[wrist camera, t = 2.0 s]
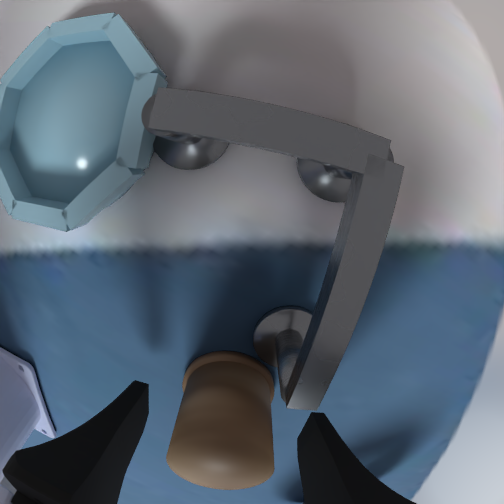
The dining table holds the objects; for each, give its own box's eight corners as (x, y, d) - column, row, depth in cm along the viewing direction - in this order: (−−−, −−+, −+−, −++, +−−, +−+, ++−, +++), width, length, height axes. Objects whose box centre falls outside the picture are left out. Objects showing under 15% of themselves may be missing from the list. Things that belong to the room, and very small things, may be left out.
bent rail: (130, 330, 12) (90, 393, 8) (163, 89, 10) (114, 49, 5) (309, 366, 13) (328, 438, 9) (378, 137, 10) (444, 125, 6)
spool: (181, 404, 14) (161, 479, 9) (189, 341, 13) (161, 424, 8) (261, 419, 14) (262, 495, 9) (284, 360, 13) (296, 446, 8)
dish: (3, 203, 11) (-20, 210, 9) (35, 42, 8) (15, 33, 7) (143, 234, 11) (126, 245, 9) (189, 29, 9) (179, 9, 7)
